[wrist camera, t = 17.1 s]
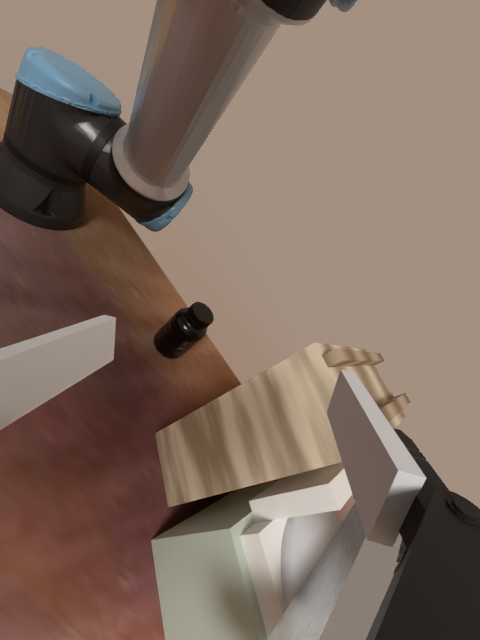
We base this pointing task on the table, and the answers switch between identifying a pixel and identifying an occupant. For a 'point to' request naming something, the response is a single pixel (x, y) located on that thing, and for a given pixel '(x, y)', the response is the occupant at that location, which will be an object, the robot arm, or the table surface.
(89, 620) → the table surface
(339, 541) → the bar
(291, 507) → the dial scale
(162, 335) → the supplement bottle
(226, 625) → the block
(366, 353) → the birch stand
